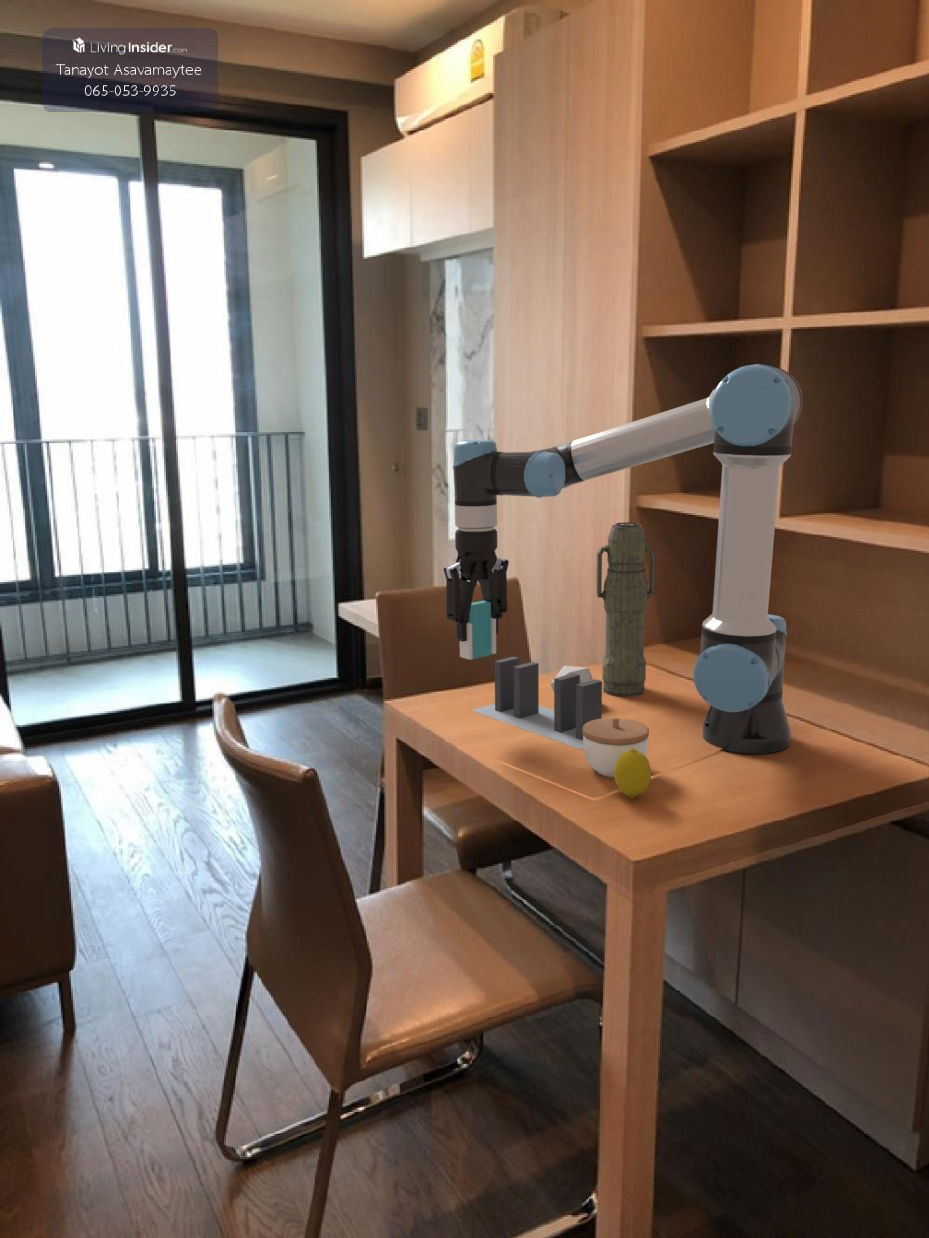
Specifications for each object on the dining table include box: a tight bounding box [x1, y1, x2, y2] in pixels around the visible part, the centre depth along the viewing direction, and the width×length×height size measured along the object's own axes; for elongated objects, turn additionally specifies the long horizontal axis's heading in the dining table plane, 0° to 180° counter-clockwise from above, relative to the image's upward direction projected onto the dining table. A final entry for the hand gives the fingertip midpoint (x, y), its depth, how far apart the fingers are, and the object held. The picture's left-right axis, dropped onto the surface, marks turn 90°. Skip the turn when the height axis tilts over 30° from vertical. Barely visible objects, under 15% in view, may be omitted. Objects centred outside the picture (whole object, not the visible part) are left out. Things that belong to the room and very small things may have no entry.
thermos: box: [595, 521, 657, 698], centre depth 207 cm, size 9×12×35 cm
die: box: [550, 665, 594, 692], centre depth 200 cm, size 8×9×10 cm
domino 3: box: [553, 673, 580, 733], centre depth 185 cm, size 2×5×10 cm, turn 130°
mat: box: [470, 703, 584, 750], centre depth 190 cm, size 30×12×1 cm, turn 40°
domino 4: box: [576, 679, 603, 740], centre depth 181 cm, size 2×5×10 cm, turn 130°
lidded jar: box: [582, 717, 650, 778], centre depth 165 cm, size 11×11×9 cm
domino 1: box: [494, 656, 520, 712], centre depth 198 cm, size 2×5×10 cm, turn 130°
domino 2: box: [514, 661, 540, 719], centre depth 193 cm, size 2×5×10 cm, turn 129°
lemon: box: [614, 749, 652, 799], centre depth 154 cm, size 6×6×8 cm
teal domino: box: [468, 600, 492, 661], centre depth 183 cm, size 2×5×10 cm, turn 130°
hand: (478, 654), depth 184 cm, fingers closed on teal domino, 5 cm apart
